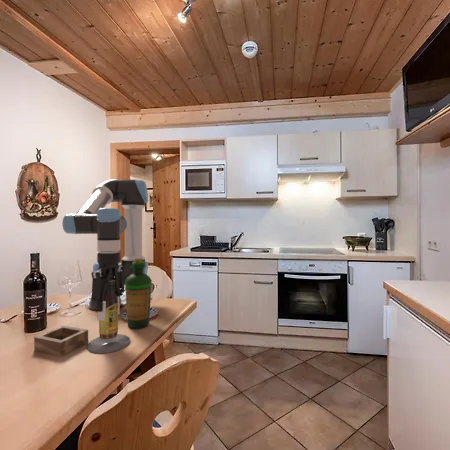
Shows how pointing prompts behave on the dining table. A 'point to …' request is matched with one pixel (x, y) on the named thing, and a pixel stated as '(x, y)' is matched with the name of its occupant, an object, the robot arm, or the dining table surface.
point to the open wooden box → (61, 340)
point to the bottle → (138, 296)
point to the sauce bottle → (110, 313)
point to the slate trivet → (108, 344)
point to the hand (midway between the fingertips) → (109, 316)
